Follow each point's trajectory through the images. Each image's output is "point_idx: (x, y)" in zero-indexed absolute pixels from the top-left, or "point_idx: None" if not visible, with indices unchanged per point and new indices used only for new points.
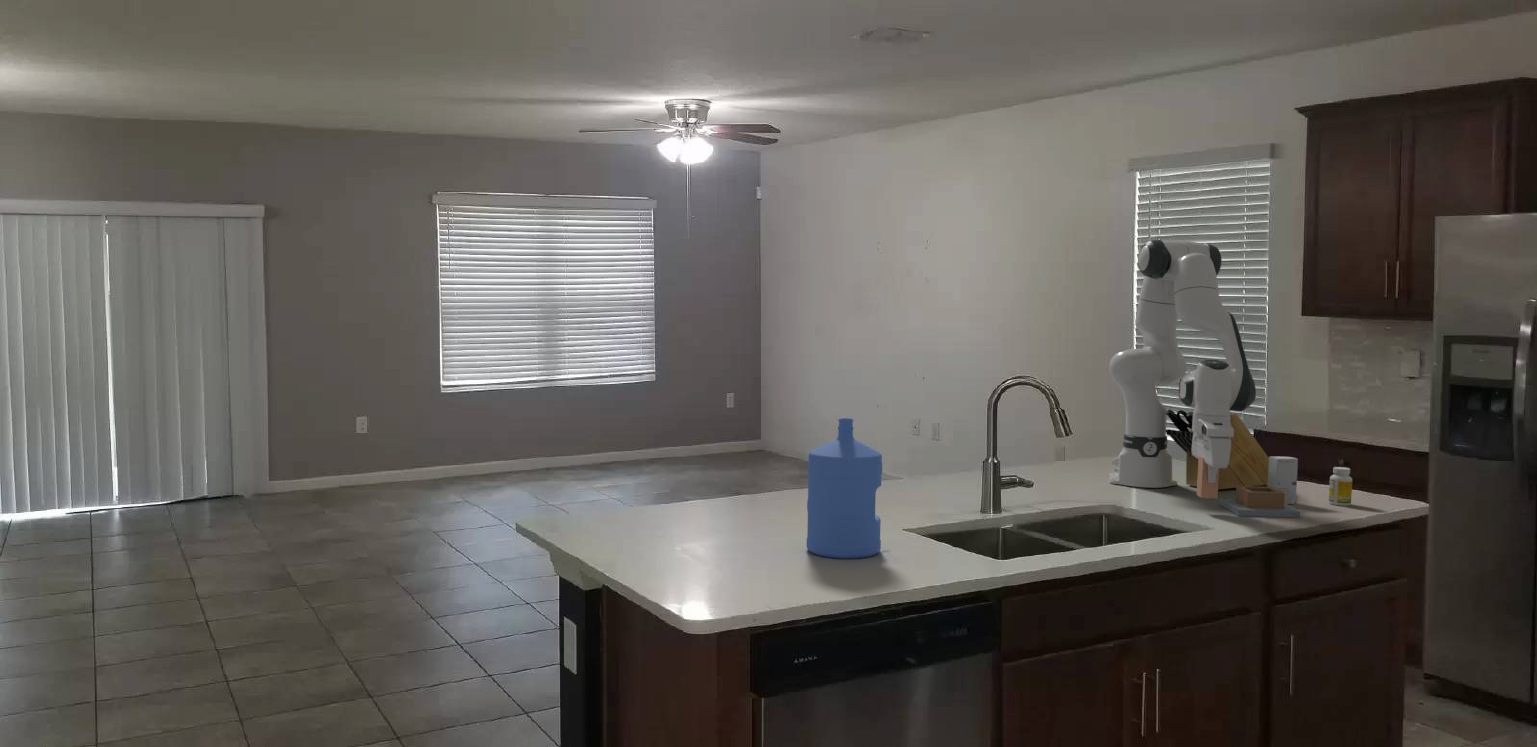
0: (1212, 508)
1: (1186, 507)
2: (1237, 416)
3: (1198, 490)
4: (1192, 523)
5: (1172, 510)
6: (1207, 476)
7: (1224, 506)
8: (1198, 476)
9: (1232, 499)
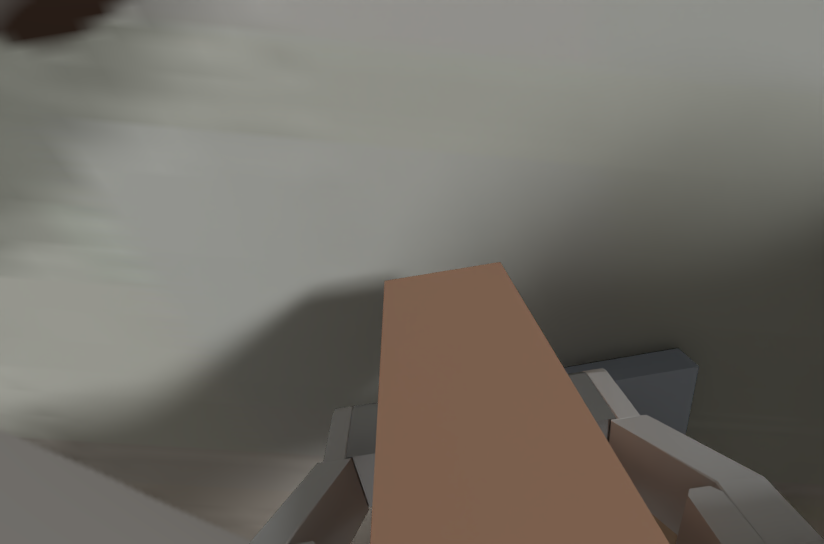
0: (574, 309)
1: (586, 181)
2: None
3: (461, 288)
4: (56, 170)
5: (464, 79)
6: (362, 439)
7: (610, 362)
8: (517, 355)
9: (684, 411)
